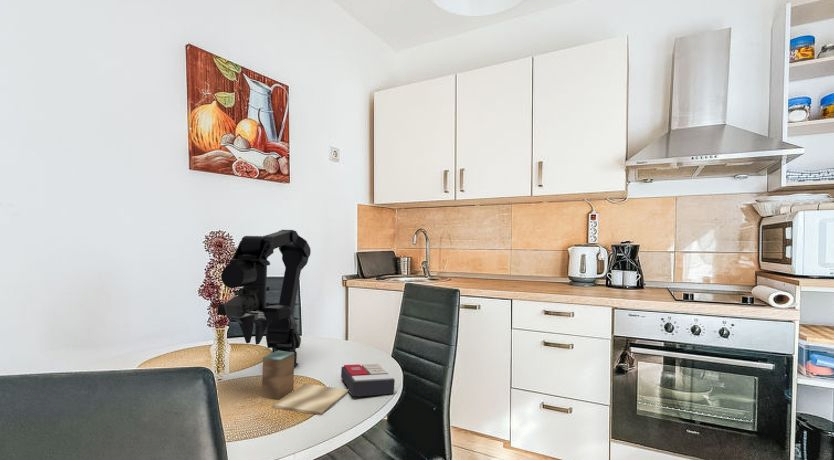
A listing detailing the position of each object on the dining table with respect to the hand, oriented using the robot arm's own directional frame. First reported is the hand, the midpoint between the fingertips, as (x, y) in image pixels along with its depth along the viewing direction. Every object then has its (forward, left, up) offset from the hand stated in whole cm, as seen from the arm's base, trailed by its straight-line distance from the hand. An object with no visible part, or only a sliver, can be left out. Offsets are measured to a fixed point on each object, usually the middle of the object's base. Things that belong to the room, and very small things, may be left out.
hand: (252, 343), depth 100 cm
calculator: (+27, +12, -12) cm, 32 cm away
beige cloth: (+18, 0, -12) cm, 22 cm away
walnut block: (+8, 0, -12) cm, 15 cm away
